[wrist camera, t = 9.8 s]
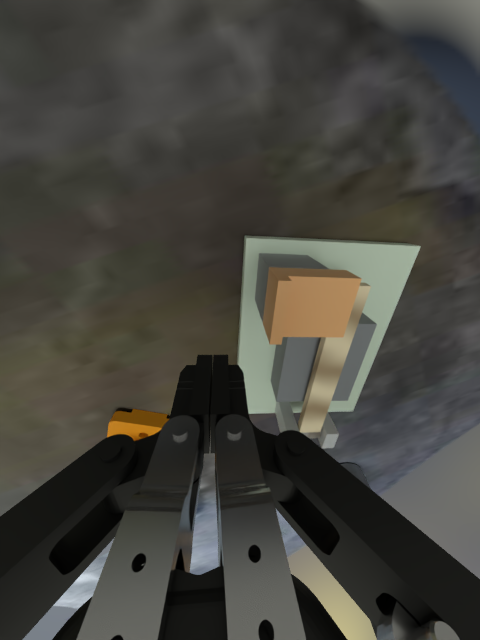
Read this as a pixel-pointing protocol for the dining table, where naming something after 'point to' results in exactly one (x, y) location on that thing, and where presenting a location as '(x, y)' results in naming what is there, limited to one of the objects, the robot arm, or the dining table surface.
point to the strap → (329, 371)
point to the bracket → (136, 423)
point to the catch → (308, 302)
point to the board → (334, 257)
